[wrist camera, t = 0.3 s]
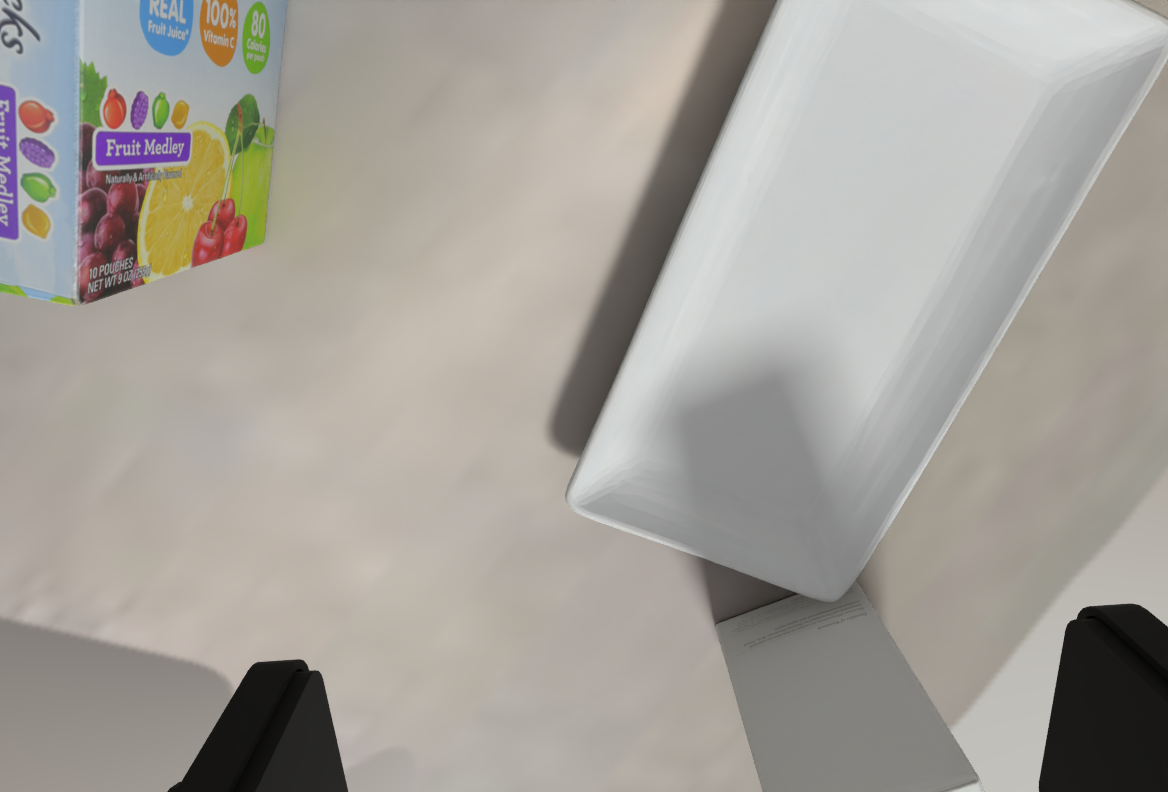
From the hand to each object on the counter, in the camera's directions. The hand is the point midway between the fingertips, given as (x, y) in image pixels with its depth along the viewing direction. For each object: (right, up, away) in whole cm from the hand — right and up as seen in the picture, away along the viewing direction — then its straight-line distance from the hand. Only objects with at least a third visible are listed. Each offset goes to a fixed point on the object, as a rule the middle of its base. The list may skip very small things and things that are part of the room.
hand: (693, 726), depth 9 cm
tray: (+11, +10, +29) cm, 33 cm away
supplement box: (+12, -12, +37) cm, 40 cm away
